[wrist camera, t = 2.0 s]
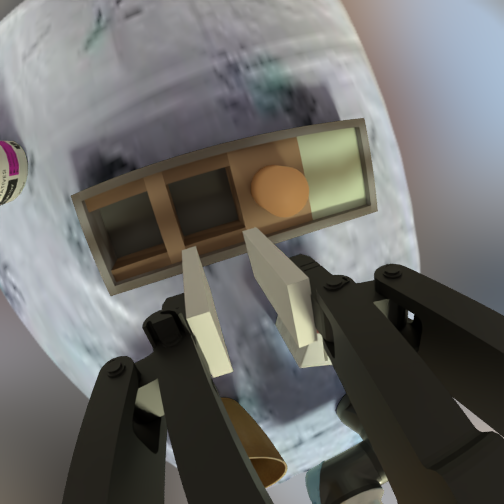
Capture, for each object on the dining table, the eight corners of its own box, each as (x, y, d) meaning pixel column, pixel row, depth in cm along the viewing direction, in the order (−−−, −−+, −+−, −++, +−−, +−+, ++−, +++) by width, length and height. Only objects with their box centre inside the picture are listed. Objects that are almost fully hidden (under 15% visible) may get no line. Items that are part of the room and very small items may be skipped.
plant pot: (253, 428, 51) (276, 490, 36) (180, 431, 46) (190, 500, 32) (266, 379, 46) (299, 451, 32) (179, 381, 42) (188, 463, 27)
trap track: (354, 203, 39) (377, 211, 34) (118, 276, 34) (110, 296, 29) (340, 120, 35) (364, 118, 30) (86, 189, 30) (70, 195, 25)
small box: (328, 294, 43) (365, 330, 34) (319, 324, 45) (351, 363, 35) (281, 292, 41) (312, 332, 31) (273, 325, 43) (299, 369, 33)
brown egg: (297, 203, 32) (312, 209, 29) (256, 215, 31) (267, 223, 28) (288, 160, 30) (303, 161, 27) (245, 171, 30) (255, 173, 26)
